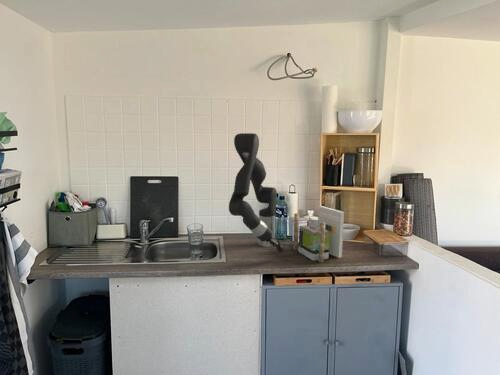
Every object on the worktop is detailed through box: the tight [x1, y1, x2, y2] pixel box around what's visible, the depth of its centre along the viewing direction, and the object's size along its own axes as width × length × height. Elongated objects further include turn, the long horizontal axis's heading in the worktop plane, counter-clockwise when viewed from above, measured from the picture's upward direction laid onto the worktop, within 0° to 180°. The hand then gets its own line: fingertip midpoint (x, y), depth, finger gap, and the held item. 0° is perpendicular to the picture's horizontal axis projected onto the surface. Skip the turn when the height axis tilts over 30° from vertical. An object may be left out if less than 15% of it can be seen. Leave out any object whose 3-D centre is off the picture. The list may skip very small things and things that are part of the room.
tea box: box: [298, 225, 330, 261], centre depth 195 cm, size 15×10×15 cm
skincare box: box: [308, 216, 318, 226], centre depth 214 cm, size 8×7×16 cm
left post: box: [292, 212, 300, 251], centre depth 204 cm, size 2×2×20 cm
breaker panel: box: [317, 205, 345, 259], centre depth 199 cm, size 18×3×24 cm, turn 28°
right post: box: [318, 222, 325, 263], centre depth 185 cm, size 2×2×20 cm
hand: (281, 250), depth 187 cm, fingers closed
